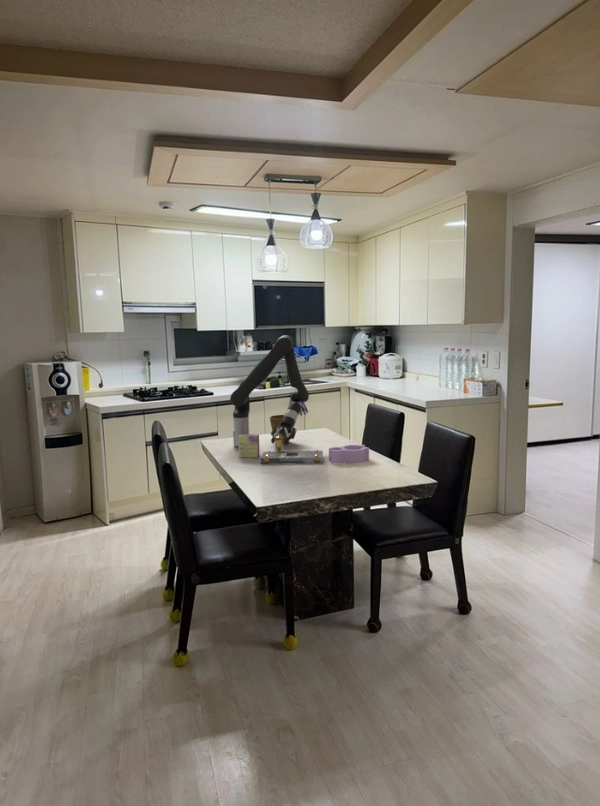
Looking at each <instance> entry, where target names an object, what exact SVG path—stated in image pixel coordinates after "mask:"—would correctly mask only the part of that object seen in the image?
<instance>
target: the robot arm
mask: <svg viewBox="0 0 600 806" xmlns="http://www.w3.org/2000/svg"><path fill="white" fill-rule="evenodd" d="M295 354H296V353H295V344H294V339H293V338H292V336H290V335H288V334H285V335H282V336H280V337H279V338H277V340H276V342H275V343H274V345H273V347H272V348H271V349H270V351H269V352H268V353H267V354H266V355H265V356H264V357H263V358H262V359H261V360H259V362H258V363H257V364H256V365H255V366H254V367H253V368H252V370H251V371H250V372H249V374H248V375H247V376H246V378H245V379H244V381H243V382H242V383H241V384H240V385H239V386H238V387H237V388H236V389H235V390H234V391H233V392H232V393H231V395H230V398H229V399H230V403H231V404H232V405H233V406H234V410H233V412H232V420H233V422H232V423H233V430H232V433H233V434H232V437H233V447H237V446H238V447H237V448H239V440H238V437H239V435H240V434H250V416H249V413H250V409H251V407H250V405H251V403H250V400H251V399H250V394H251V393H252V392H253V391H255V389H257V388H258V387H259V386H260V385H261V384H263V383H264V382H265V380H267V378H268V377H269V376H270V374H272V372H273V371H274V369H275V367H276V366H277V365H278V363H279V361H280V360H282V359H283V357H284V361H285V365H286V366H285V367H286V373H287V377H288V381H289V385H290V387H291V388H292V389H293V388H294V389H296V390H294V391H292V393H291V394H290V398H289V399H290V400H289V405H288V407H287V409H286V411H285V413H284V414H283V415H284V417H283V419H282V421H281V425H280V427H277V426H275V427H274V428H273V430H272V429H271V432H270V435H271V437H272V438H271V440H270V442H271V444H274V445H275V439H274V436H280V435H287V438H286V439H285V442H284V445H285V446H287V445H288V444H289V443H290V441H289V440H294V439H295V437H296V433H297V429H296V428H295V425H296V422H297V420H298V417H299V414H300V412H301V409H302V406H301V404H300V403H306V402H307V401H308V400H309V399H310V394H309V390H308V388H306V385H305V384H304V382H303V380H302V379H303V378H302V376H301V373H300V369H299V366H298V363H297V359H296V355H295ZM291 431H292V432H291ZM278 432H279V433H278ZM290 432H291V435H290Z"/></svg>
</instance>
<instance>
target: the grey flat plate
mask: <svg viewBox="0 0 600 806" xmlns="http://www.w3.org/2000/svg"><path fill="white" fill-rule="evenodd" d="M323 452H324V451H323V450H318V449H316V450H283V451H275V450H273V451H271V450H267V451H263V452H262V454H261V457H260V465H269V464H268V463H295V464H323V463H324V456H323V455H324V453H323ZM263 463H264V464H263Z"/></svg>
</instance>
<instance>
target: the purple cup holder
mask: <svg viewBox="0 0 600 806" xmlns="http://www.w3.org/2000/svg"><path fill="white" fill-rule="evenodd" d="M364 461H365V462H369V461H370V447H366V445H365V444H344V445H343V446H333V447H332V446H331V447H329V448H328V462H330V464H333V463H341V464H361V462H362V463H365V462H364ZM344 462H346V463H344Z"/></svg>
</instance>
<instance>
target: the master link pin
mask: <svg viewBox="0 0 600 806" xmlns="http://www.w3.org/2000/svg"><path fill="white" fill-rule="evenodd" d="M282 438H283V436H274V439H275V442H274V445H275V446H274V447H275V449H274V451H284V450H283V444H282Z"/></svg>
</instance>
